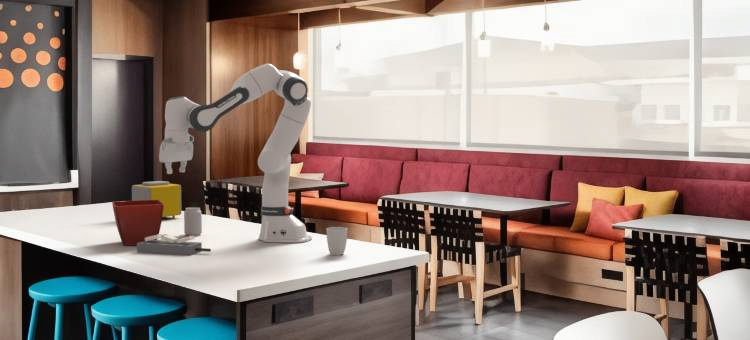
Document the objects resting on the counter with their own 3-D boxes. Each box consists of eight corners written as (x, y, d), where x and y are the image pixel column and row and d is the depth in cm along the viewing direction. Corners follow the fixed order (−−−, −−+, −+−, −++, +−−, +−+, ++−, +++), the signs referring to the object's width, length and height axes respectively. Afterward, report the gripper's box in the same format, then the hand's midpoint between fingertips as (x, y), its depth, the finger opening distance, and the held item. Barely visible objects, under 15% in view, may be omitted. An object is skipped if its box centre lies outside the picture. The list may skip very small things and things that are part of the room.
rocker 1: (161, 237, 335) (161, 233, 335) (157, 238, 332) (156, 234, 332) (149, 240, 337) (148, 236, 337) (145, 241, 334) (144, 237, 334)
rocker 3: (194, 238, 331) (193, 235, 331) (190, 240, 328) (189, 236, 328) (181, 242, 333) (180, 238, 333) (177, 243, 330) (176, 239, 330)
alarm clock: (163, 215, 440) (163, 179, 439) (182, 218, 430) (182, 181, 429) (130, 219, 426) (129, 182, 424) (149, 222, 415) (148, 184, 414)
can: (197, 236, 371) (197, 209, 370) (181, 236, 373) (181, 208, 372) (204, 234, 378) (204, 207, 378) (188, 233, 380) (188, 206, 379)
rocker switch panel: (215, 252, 332) (215, 242, 332) (204, 256, 324) (204, 246, 323) (149, 248, 340) (149, 239, 340) (137, 252, 332) (136, 242, 332)
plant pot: (112, 240, 359) (112, 200, 358) (159, 238, 366) (158, 199, 365) (116, 248, 342) (115, 206, 340) (165, 245, 348) (164, 204, 347)
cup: (336, 251, 334) (336, 226, 333) (351, 254, 329) (351, 228, 328) (322, 254, 328) (321, 228, 327) (337, 256, 322) (337, 230, 322)
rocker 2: (177, 241, 333) (177, 238, 333) (172, 243, 330) (173, 239, 330) (164, 237, 335) (165, 233, 335) (160, 238, 332) (161, 235, 332)
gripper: (169, 139, 325) (169, 175, 327) (196, 137, 345) (195, 171, 346) (155, 138, 327) (154, 174, 328) (182, 136, 347) (181, 170, 348)
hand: (176, 172), depth 337 cm, fingers open, 8 cm apart
